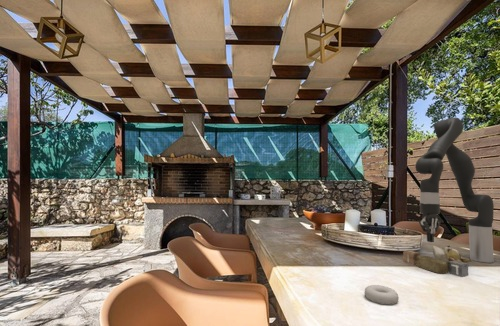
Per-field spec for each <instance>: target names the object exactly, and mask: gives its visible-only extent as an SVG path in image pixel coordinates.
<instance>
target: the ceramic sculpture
mask: <svg viewBox="0 0 500 326" xmlns="http://www.w3.org/2000/svg"><path fill="white" fill-rule="evenodd" d="M431 247H432V253H433V256H434V258H435V259H439V260H442V261H445V262H447V263H448V262H450V261H454V260H455V261H459V262H464V263H470V262H472V261H473V260H471V259H467V258H464V257H462V254H461V253H460V251H459V250H457V249H456V248H451V246H450V245H444V246H443V247H439V246H436V245H434V244H433V245H432V246H431Z"/></svg>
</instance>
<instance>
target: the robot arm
mask: <svg viewBox="0 0 500 326" xmlns="http://www.w3.org/2000/svg"><path fill="white" fill-rule="evenodd" d="M462 121H463V120H461V119H460V118H458V117H449V118H445V119H442V120H439V121H437V122H435V123H434V125H433V129H434V133H435V136H436V137H437V139H435V141H434V142H433V143H431V145H430V146H429V147H428V150H427V152H425V153H424V154H423V155H422V156H421V157H419V158H418V159H417V161H416V163H415V166H414V167H415V171H416V172H417V173H418V174H421V175H431V176H430V177H428V178H425V179H422V180H420V184H419V186H420V187H419V188H420V194H419V195H420V196H419V212H420V213H421V214H422V216H421V218H422V219H421V220H418V223H419V226H420V227H421V230H422V231H423V233H424V232H425V233H426V241H427V243H434V242H435V234H436V233H437V232H438V230H439V228H440V225H441V222H442V221H441V220H439V219H438V215H440V214H441V203H440V201H441V200H440V199H441V197H440V188H439V187H440V179H441V176H442V173H443V170H444V163H443V159H444V158H445V156H446V159H447V160H448V163H449V164H448V165H449V167H450V169H451V171H452V173H453V176H454V178H455V181H456V184H457V186H458V190H459V193H460V196H461V200H462V201H461V202H462V204H463V207H465V209H466V210H467V211H468V212H473V213H477V216H476V217H473V218H469V219H468V241H469V242H468V247H469V260H471V261H475V262H479V263H487V264H488V263H490V264H491V263H494V241H493V238H494V237H493V222H494V210H495V209H494V201H493V198H492V197H491V196H490V195H488V194H476V193H475V192H474V190H473V187H472V182H473V180H474V177H475V173H476V168H475V166H474V163H473V161H472V158H471V157H470V156H469V155H468V153H465V152H464V150H462V149H461V148H458V147H457V146H456V145H455V144H454V142H455V141H456V140H457V139H458V138H459V137H460V135H461V134H462V133H463V130H464V123H463V122H462Z"/></svg>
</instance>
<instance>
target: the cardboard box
mask: <svg viewBox="0 0 500 326" xmlns="http://www.w3.org/2000/svg"><path fill="white" fill-rule="evenodd" d="M420 254H421V253H420V252H417V251H413V250H404V251H403V253H402V255H403V256H402V258H403V263H406V264H410V265H413V264H414V265H417V264H416V262H417V256H421V255H420Z"/></svg>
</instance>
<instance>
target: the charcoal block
mask: <svg viewBox="0 0 500 326" xmlns="http://www.w3.org/2000/svg"><path fill="white" fill-rule="evenodd" d="M448 267H449V272H448V274H449V275H453V276H456V277H460V278H464V277H468V276H469V262H467V263H464V262H459V261H455V260H454V261H450V262H448Z"/></svg>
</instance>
